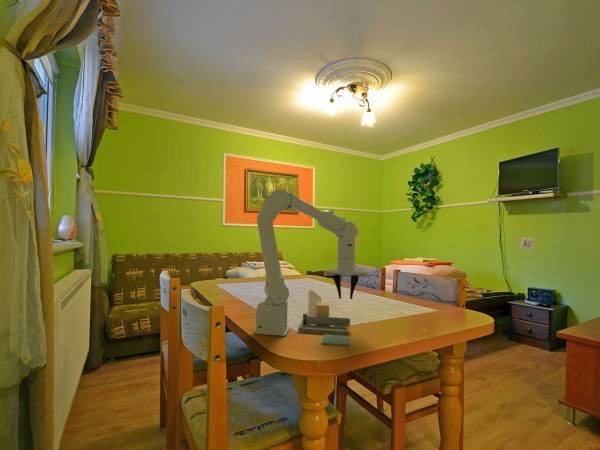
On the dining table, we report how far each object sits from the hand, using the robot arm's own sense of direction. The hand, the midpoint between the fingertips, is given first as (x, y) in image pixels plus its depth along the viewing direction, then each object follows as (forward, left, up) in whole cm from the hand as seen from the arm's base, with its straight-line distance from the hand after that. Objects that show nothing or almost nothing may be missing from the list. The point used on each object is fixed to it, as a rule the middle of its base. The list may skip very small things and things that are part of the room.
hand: (345, 298), depth 97 cm
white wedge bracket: (-11, +10, -10) cm, 17 cm away
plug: (-8, +1, -10) cm, 12 cm away
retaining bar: (-6, -4, -8) cm, 11 cm away
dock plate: (-7, -1, -9) cm, 12 cm away
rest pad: (-3, -13, -9) cm, 17 cm away
